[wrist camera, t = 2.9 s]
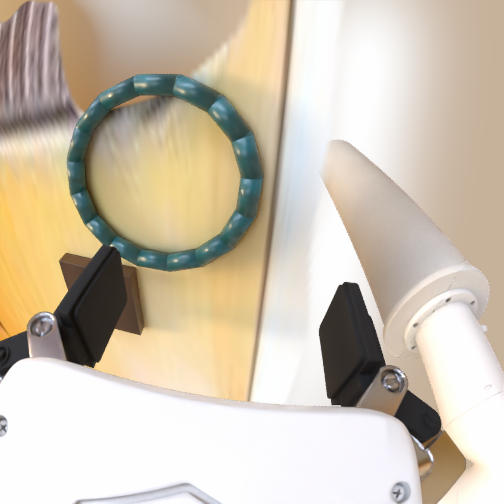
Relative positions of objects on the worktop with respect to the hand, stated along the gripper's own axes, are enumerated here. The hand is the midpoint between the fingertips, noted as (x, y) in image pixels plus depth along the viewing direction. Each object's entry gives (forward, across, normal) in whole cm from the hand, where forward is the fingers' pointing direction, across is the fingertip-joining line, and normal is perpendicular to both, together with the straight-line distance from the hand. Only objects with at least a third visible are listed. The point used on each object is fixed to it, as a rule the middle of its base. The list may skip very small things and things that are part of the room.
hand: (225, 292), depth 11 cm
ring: (+11, +7, 0) cm, 13 cm away
